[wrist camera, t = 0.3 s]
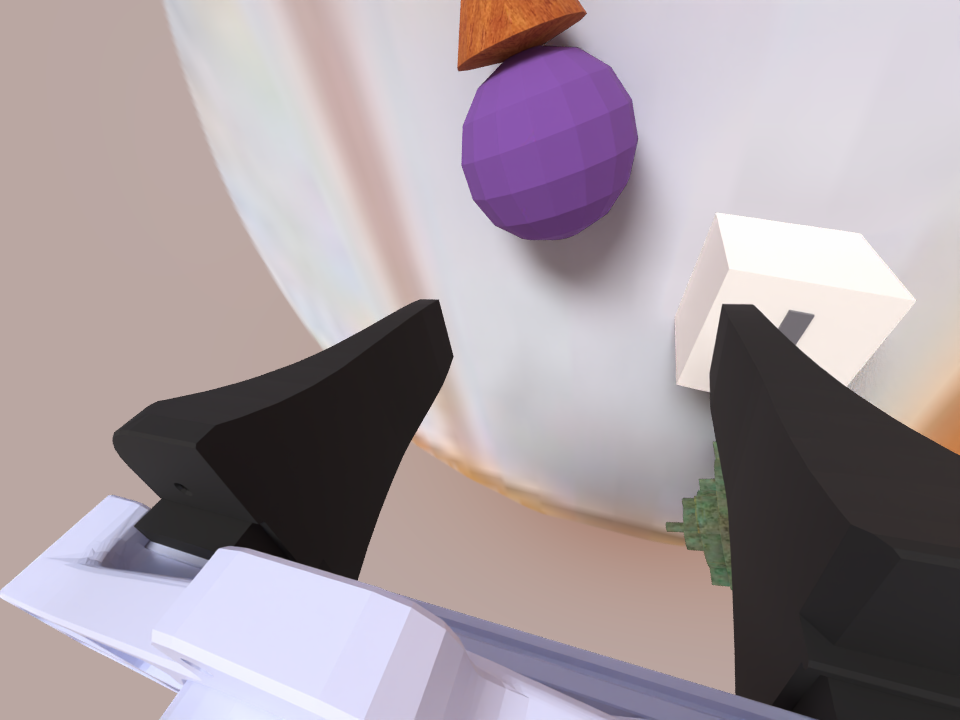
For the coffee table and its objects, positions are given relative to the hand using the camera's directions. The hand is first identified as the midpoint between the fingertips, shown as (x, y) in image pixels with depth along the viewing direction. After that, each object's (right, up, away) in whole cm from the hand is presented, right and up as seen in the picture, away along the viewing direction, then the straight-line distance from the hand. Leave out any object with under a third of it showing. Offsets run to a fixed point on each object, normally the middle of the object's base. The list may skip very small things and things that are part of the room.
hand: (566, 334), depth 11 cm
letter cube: (+9, +3, +7) cm, 12 cm away
